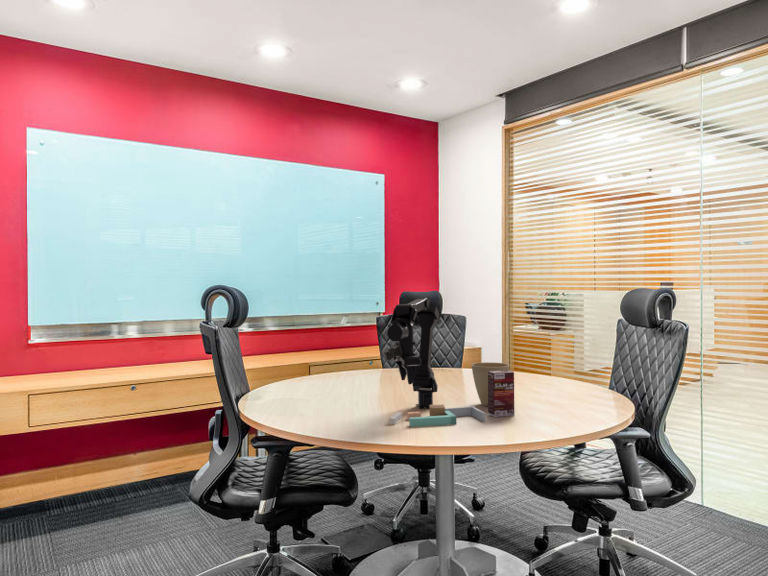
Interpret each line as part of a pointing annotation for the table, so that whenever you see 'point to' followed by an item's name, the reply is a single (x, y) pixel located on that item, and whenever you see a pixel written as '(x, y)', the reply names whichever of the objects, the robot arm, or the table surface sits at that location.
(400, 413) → the stick
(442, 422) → the crook
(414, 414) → the offcut
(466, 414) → the gray angle bracket
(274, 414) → the table surface
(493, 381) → the supplement box
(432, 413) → the block
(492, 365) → the plant pot
